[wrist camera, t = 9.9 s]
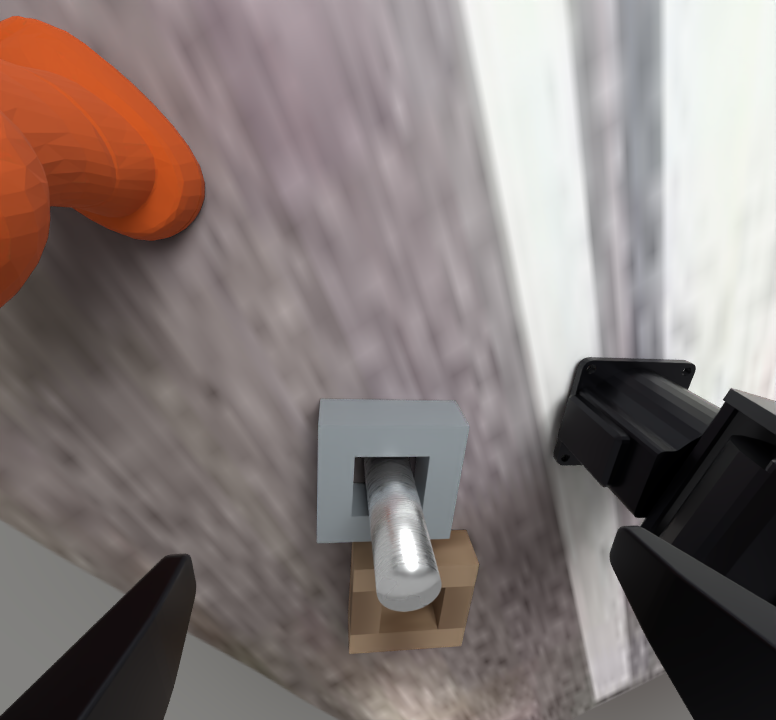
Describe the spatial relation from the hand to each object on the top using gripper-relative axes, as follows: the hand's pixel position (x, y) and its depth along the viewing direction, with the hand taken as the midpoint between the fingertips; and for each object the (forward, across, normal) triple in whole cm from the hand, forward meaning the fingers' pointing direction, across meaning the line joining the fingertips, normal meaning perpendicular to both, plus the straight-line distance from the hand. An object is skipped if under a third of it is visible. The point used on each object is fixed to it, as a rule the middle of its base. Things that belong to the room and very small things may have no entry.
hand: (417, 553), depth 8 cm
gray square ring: (+12, -1, +6) cm, 14 cm away
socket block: (+12, -3, +15) cm, 20 cm away
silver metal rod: (+12, -1, +6) cm, 14 cm away
